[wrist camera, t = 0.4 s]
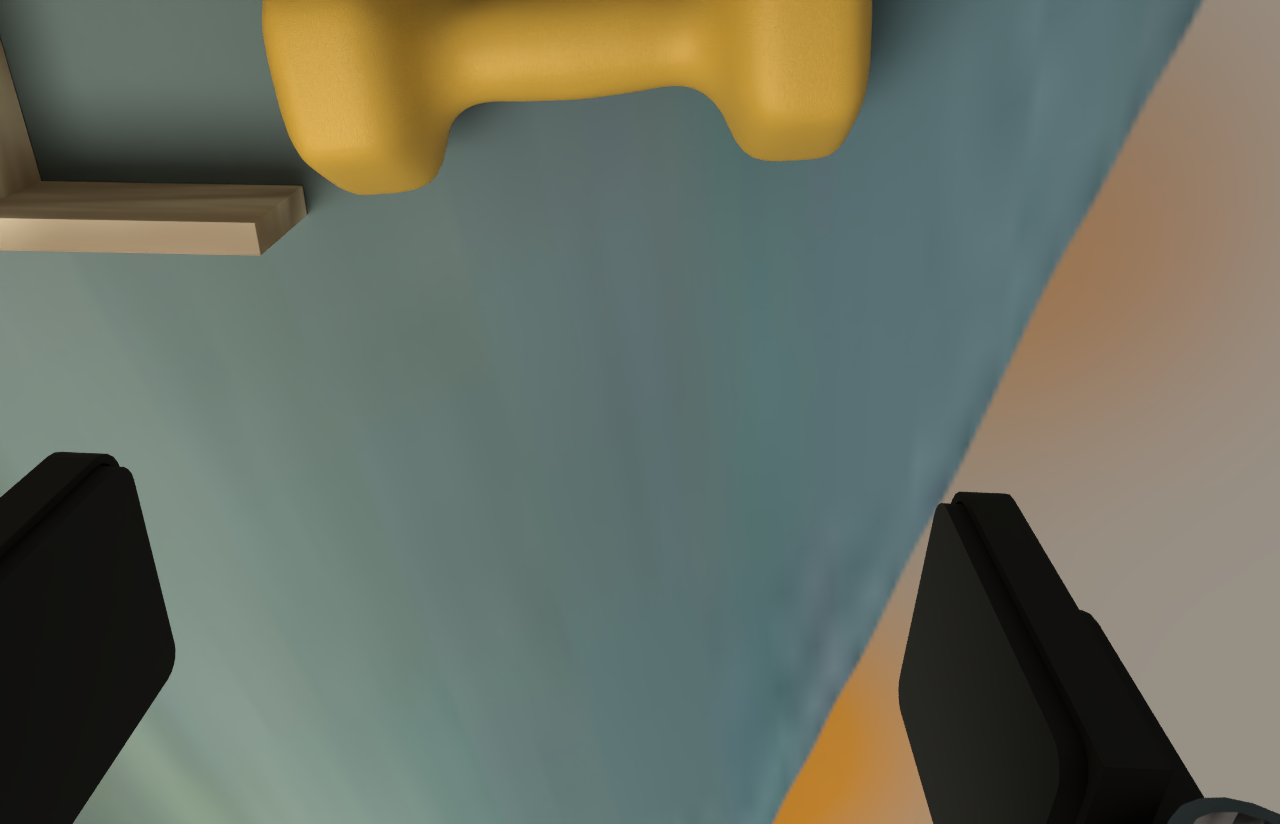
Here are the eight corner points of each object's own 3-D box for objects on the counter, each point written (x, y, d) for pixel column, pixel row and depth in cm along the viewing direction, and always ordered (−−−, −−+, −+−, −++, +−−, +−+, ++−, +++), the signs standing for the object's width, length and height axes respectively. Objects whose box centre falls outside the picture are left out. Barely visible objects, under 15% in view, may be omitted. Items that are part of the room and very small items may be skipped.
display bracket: (-107, -209, 32) (-230, -227, 28) (240, -206, 32) (171, -223, 27) (20, 209, 39) (-62, 249, 34) (306, 214, 39) (260, 255, 34)
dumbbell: (359, 168, 38) (287, 231, 31) (304, -87, 34) (205, -84, 26) (839, 134, 37) (880, 191, 30) (845, -135, 32) (895, -145, 25)
